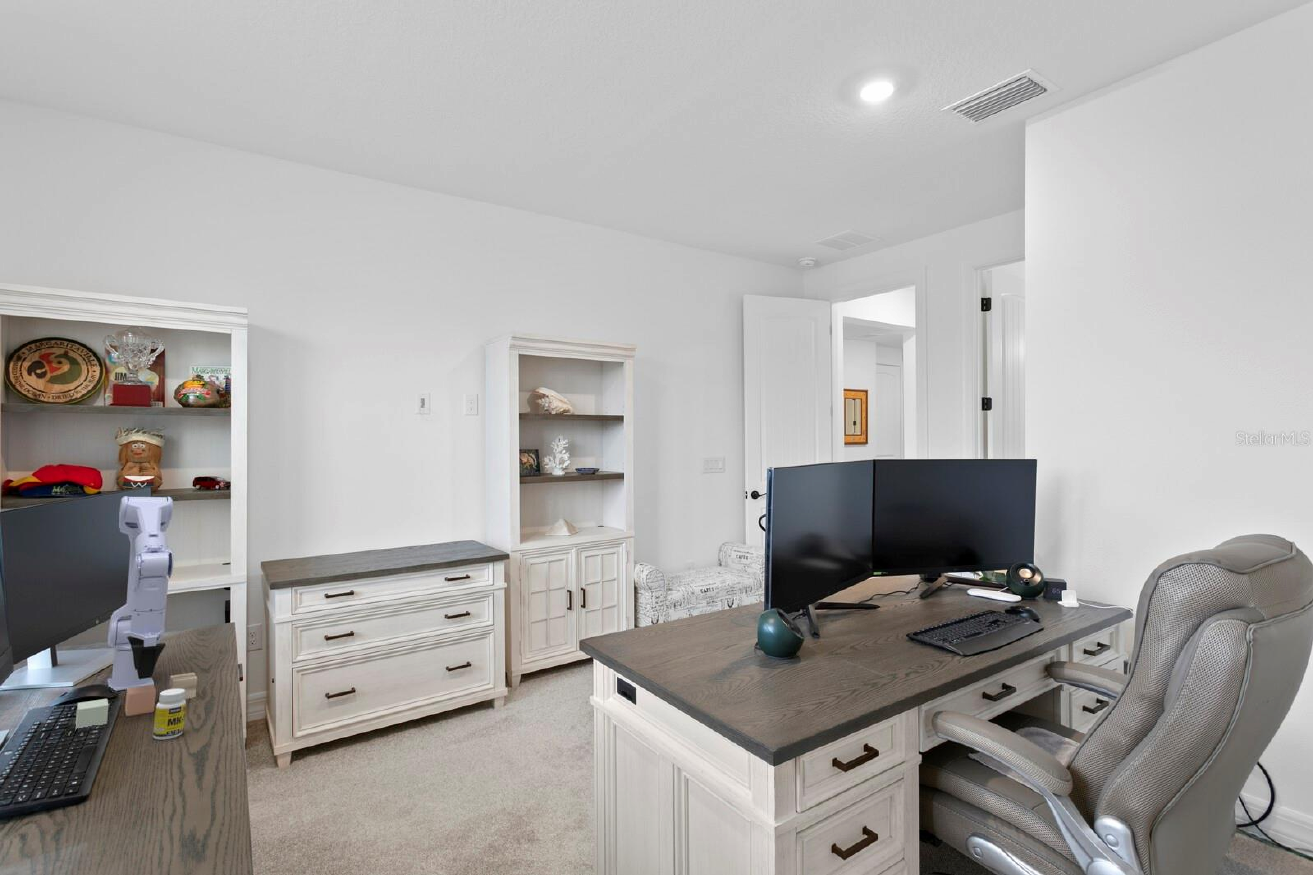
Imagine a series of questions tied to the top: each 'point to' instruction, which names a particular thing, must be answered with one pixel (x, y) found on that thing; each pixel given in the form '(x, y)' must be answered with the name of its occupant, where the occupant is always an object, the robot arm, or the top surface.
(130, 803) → the top surface
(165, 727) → the supplement bottle
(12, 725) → the top surface
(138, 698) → the terracotta block
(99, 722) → the sage block
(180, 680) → the birch block
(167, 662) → the top surface
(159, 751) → the top surface
